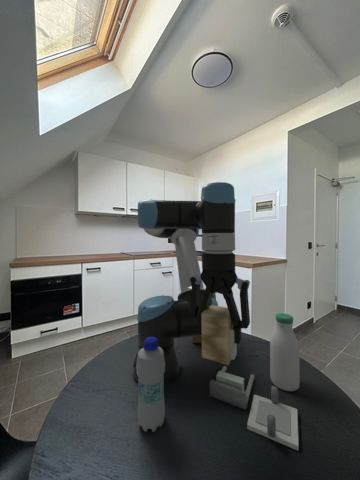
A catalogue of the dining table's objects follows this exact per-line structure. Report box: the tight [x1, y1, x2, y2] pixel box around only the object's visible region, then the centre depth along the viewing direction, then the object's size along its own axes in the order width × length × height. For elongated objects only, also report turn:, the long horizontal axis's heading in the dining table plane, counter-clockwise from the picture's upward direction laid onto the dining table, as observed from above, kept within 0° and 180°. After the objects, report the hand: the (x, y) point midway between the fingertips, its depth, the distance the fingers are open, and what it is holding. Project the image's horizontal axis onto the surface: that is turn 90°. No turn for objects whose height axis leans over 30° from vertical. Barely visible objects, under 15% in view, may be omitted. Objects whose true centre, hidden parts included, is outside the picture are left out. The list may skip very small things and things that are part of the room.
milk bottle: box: [269, 312, 301, 392], centre depth 60 cm, size 8×8×20 cm
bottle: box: [136, 337, 166, 433], centre depth 47 cm, size 7×7×20 cm
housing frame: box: [209, 365, 255, 411], centre depth 59 cm, size 10×13×4 cm
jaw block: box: [201, 305, 233, 366], centre depth 46 cm, size 6×6×10 cm
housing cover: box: [215, 370, 245, 391], centre depth 56 cm, size 7×3×5 cm, turn 61°
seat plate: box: [246, 385, 299, 452], centre depth 48 cm, size 10×11×4 cm
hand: (219, 352), depth 47 cm, fingers closed on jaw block, 6 cm apart
